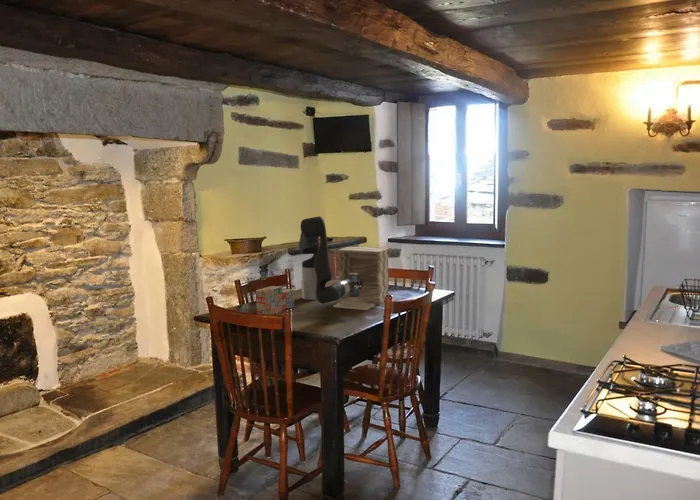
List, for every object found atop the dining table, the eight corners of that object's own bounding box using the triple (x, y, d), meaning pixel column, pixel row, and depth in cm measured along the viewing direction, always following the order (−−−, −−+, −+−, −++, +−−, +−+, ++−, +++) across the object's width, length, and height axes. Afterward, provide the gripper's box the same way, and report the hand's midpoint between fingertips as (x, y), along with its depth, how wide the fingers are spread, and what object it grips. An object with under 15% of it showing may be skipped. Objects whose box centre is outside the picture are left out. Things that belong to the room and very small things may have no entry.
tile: (366, 309, 277) (366, 308, 277) (333, 307, 284) (333, 305, 284) (374, 305, 288) (374, 303, 287) (341, 302, 294) (341, 301, 294)
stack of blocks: (284, 306, 288) (283, 282, 287) (294, 307, 285) (293, 283, 283) (256, 315, 270) (255, 289, 269) (266, 316, 267) (265, 291, 265)
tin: (350, 297, 282) (350, 273, 280) (347, 295, 287) (347, 272, 285) (360, 296, 283) (360, 272, 282) (357, 294, 288) (357, 271, 287)
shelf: (380, 305, 288) (379, 251, 284) (338, 301, 296) (337, 250, 293) (389, 299, 301) (389, 248, 298) (349, 296, 310) (348, 246, 307)
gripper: (356, 281, 268) (369, 275, 284) (328, 279, 274) (342, 274, 289) (356, 296, 269) (369, 290, 285) (328, 294, 274) (342, 288, 290)
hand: (355, 282), depth 287 cm, fingers closed on tin, 5 cm apart
